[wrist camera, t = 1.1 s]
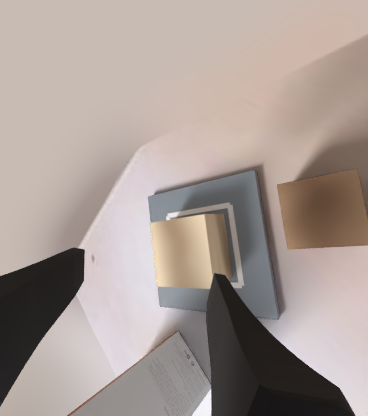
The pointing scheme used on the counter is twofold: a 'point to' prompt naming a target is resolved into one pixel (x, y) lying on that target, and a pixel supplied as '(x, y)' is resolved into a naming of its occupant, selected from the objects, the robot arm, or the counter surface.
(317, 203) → the walnut block
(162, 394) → the small box
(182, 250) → the maple block
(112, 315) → the counter surface
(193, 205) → the board
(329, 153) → the counter surface
